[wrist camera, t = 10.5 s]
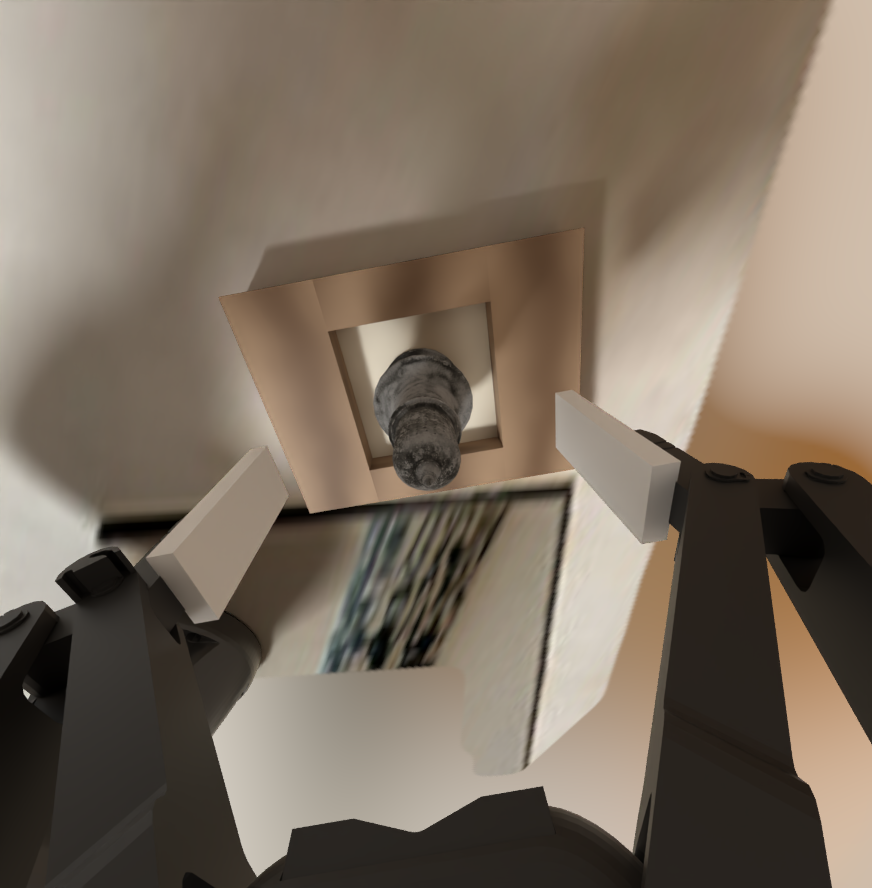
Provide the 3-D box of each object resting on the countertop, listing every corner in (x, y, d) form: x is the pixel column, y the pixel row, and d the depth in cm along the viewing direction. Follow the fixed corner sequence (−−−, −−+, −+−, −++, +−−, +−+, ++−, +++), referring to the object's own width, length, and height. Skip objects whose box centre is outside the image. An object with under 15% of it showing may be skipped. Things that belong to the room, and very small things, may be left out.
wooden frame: (321, 489, 28) (310, 513, 25) (245, 294, 21) (218, 296, 18) (560, 448, 27) (577, 468, 24) (560, 234, 20) (584, 227, 18)
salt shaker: (408, 324, 21) (401, 374, 10) (482, 375, 23) (542, 463, 12) (363, 399, 23) (317, 506, 12) (433, 440, 25) (447, 566, 14)
